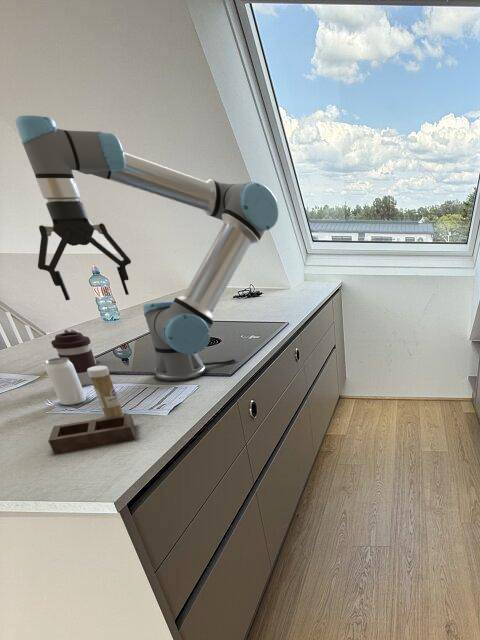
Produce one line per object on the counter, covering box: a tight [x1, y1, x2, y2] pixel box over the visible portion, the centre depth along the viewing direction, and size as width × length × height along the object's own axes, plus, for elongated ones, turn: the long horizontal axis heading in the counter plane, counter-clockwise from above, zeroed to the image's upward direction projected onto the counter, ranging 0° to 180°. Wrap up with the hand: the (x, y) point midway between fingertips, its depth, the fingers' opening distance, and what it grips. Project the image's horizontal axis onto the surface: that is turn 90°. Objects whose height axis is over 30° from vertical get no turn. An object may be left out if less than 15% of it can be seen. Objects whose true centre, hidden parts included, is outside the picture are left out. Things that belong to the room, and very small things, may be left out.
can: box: [44, 357, 87, 406], centre depth 128 cm, size 6×6×12 cm
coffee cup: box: [50, 331, 97, 386], centre depth 141 cm, size 10×10×15 cm
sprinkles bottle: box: [87, 365, 125, 418], centre depth 118 cm, size 5×5×13 cm
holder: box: [48, 413, 136, 455], centre depth 109 cm, size 16×9×4 cm, turn 117°
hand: (98, 296), depth 119 cm, fingers open, 13 cm apart
